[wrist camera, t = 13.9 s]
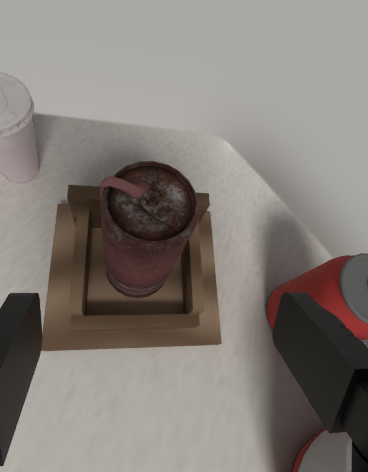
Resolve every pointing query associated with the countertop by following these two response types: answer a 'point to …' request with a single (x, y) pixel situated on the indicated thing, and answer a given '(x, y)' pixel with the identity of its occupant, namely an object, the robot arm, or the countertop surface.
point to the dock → (116, 304)
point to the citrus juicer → (323, 453)
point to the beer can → (333, 291)
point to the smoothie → (17, 131)
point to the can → (145, 225)
